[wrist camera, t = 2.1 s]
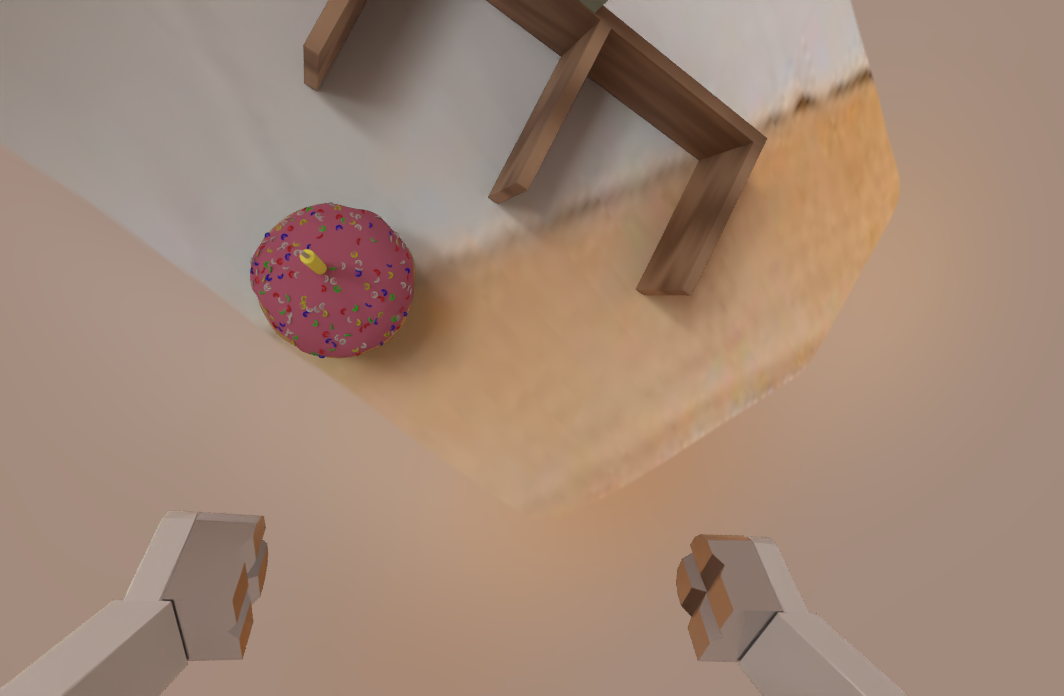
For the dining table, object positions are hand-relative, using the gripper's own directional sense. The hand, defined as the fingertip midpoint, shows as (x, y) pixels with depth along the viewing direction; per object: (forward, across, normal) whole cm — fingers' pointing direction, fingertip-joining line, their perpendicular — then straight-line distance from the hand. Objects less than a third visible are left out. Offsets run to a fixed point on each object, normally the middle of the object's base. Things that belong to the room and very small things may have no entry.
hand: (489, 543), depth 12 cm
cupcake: (+27, +7, +12) cm, 30 cm away
